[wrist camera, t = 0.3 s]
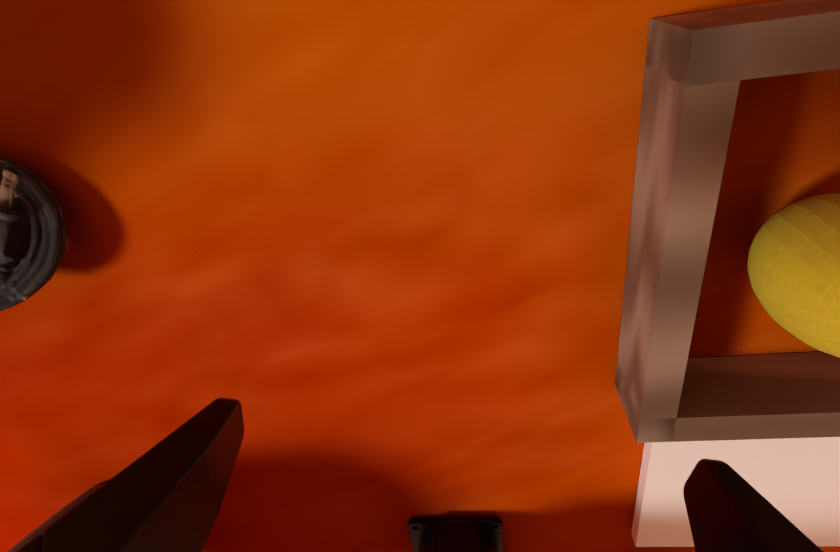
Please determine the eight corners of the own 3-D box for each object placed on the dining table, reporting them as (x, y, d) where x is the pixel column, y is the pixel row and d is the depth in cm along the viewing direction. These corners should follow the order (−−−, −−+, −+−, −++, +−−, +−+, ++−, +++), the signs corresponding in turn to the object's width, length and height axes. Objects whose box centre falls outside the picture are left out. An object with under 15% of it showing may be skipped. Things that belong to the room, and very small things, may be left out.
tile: (855, 531, 32) (866, 546, 32) (631, 532, 34) (635, 546, 33) (927, 397, 26) (943, 412, 25) (649, 408, 28) (655, 422, 27)
